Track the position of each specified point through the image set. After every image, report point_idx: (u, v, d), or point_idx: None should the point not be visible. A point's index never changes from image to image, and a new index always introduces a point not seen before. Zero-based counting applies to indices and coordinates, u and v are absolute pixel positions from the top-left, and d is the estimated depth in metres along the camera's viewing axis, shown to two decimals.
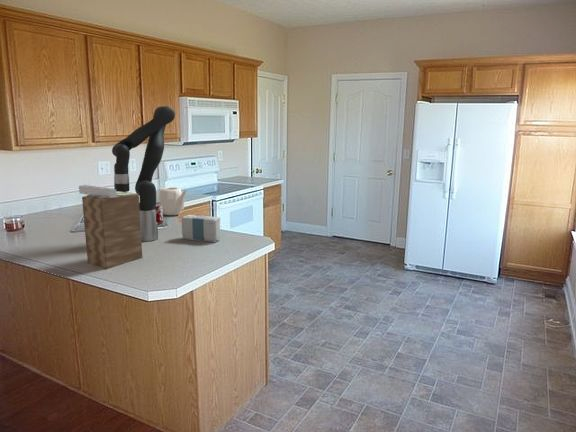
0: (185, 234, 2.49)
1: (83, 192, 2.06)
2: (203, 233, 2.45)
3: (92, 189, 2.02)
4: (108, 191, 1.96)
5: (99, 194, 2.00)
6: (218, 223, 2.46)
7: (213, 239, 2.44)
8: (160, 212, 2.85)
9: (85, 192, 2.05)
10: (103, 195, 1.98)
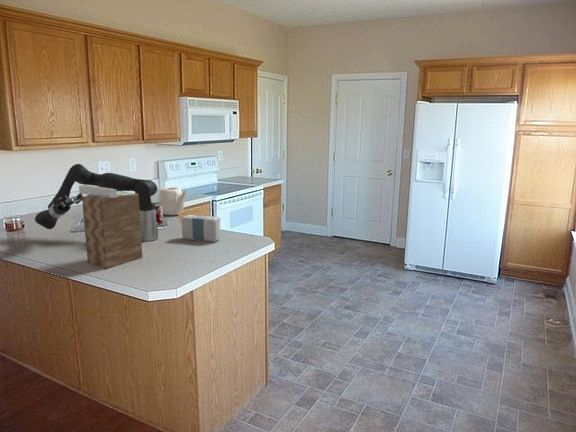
0: (185, 234, 2.49)
1: (83, 192, 2.06)
2: (203, 233, 2.45)
3: (92, 189, 2.02)
4: (108, 191, 1.96)
5: (99, 194, 2.00)
6: (218, 223, 2.46)
7: (213, 239, 2.44)
8: (160, 212, 2.85)
9: (85, 192, 2.05)
10: (103, 195, 1.98)
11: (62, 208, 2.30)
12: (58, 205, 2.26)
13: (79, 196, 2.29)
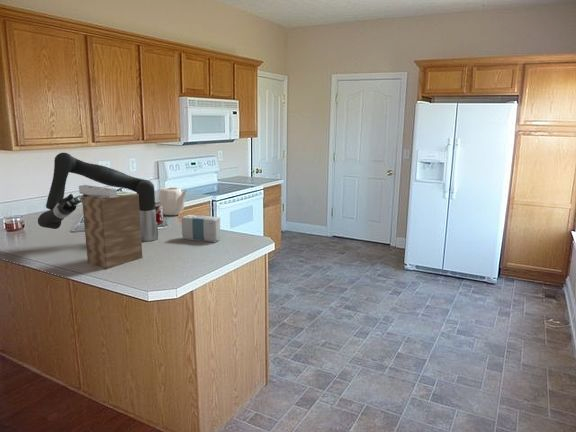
0: (185, 234, 2.49)
1: (83, 192, 2.06)
2: (203, 233, 2.45)
3: (92, 189, 2.02)
4: (108, 191, 1.96)
5: (99, 194, 2.00)
6: (218, 223, 2.46)
7: (213, 239, 2.44)
8: (160, 212, 2.85)
9: (85, 192, 2.05)
10: (103, 195, 1.98)
11: (67, 208, 2.14)
12: (63, 205, 2.11)
13: (86, 195, 2.14)
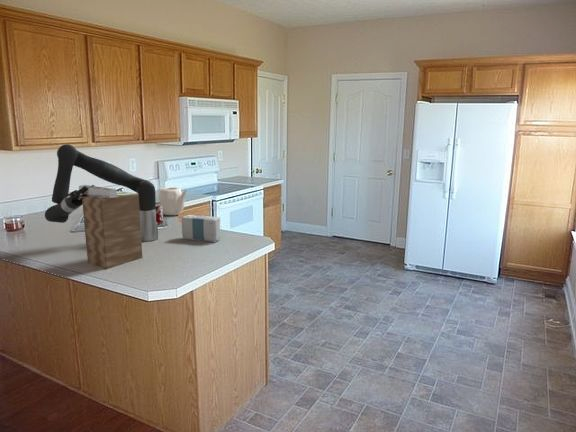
0: (185, 234, 2.49)
1: None
2: (203, 233, 2.45)
3: (92, 189, 2.02)
4: (108, 191, 1.96)
5: (99, 194, 2.00)
6: (218, 223, 2.46)
7: (213, 239, 2.44)
8: (160, 212, 2.85)
9: (85, 192, 2.05)
10: (103, 195, 1.98)
11: (75, 202, 2.11)
12: (72, 198, 2.07)
13: None
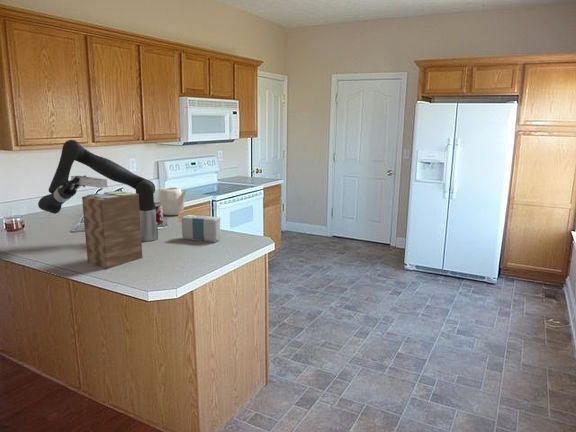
0: (185, 234, 2.49)
1: None
2: (203, 233, 2.45)
3: (84, 179, 2.08)
4: (99, 181, 2.03)
5: (90, 184, 2.06)
6: (218, 223, 2.46)
7: (213, 239, 2.44)
8: (160, 212, 2.85)
9: (77, 182, 2.11)
10: (94, 185, 2.05)
11: (68, 192, 2.17)
12: (65, 188, 2.14)
13: None
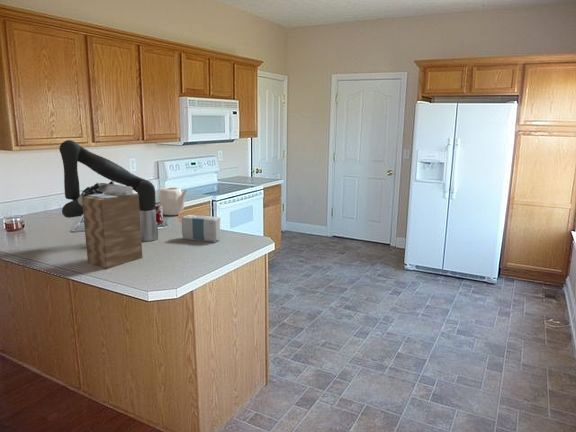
0: (185, 234, 2.49)
1: (100, 190, 2.13)
2: (203, 233, 2.45)
3: (109, 186, 2.09)
4: (125, 188, 2.03)
5: (116, 191, 2.07)
6: (218, 223, 2.46)
7: (213, 239, 2.44)
8: (160, 212, 2.85)
9: (102, 190, 2.12)
10: (120, 192, 2.06)
11: None
12: (89, 194, 2.14)
13: None
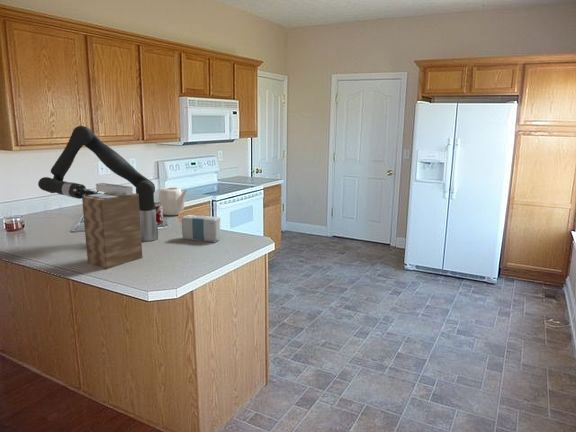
0: (185, 234, 2.49)
1: (100, 190, 2.13)
2: (203, 233, 2.45)
3: (109, 186, 2.09)
4: (125, 188, 2.03)
5: (116, 191, 2.07)
6: (218, 223, 2.46)
7: (213, 239, 2.44)
8: (160, 212, 2.85)
9: (102, 190, 2.12)
10: (120, 192, 2.06)
11: (78, 194, 2.24)
12: None
13: None
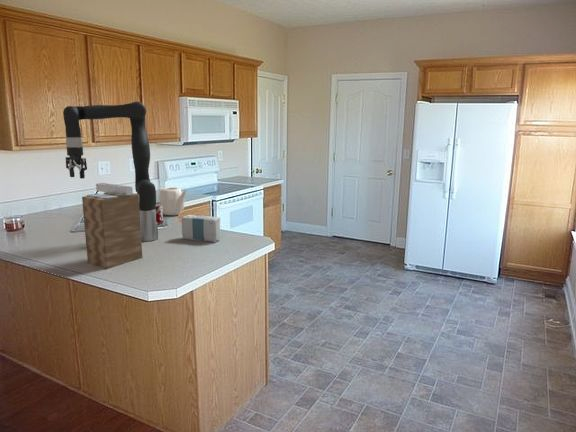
0: (185, 234, 2.49)
1: (100, 190, 2.13)
2: (203, 233, 2.45)
3: (109, 186, 2.09)
4: (125, 188, 2.03)
5: (116, 191, 2.07)
6: (218, 223, 2.46)
7: (213, 239, 2.44)
8: (160, 212, 2.85)
9: (102, 190, 2.12)
10: (120, 192, 2.06)
11: (73, 155, 2.26)
12: (79, 160, 2.26)
13: (72, 173, 2.32)
